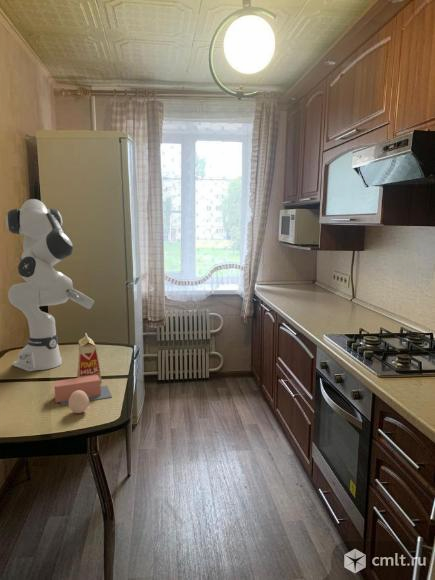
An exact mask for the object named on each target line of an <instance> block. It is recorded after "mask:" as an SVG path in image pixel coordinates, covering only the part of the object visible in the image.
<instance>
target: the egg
mask: <svg viewBox="0 0 435 580" xmlns="http://www.w3.org/2000/svg"><path fill="white" fill-rule="evenodd" d="M89 405H90V401H89V399H88V396H87V394H86V393H85V392H83V391H81V390H77V391H75V392H73V393H72V395H71V396H70V398H69V405H68V408H69V409H70V410H71V412H73V414H81V413H83V412H85V411H86V410H87V409H88V407H89Z"/></svg>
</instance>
